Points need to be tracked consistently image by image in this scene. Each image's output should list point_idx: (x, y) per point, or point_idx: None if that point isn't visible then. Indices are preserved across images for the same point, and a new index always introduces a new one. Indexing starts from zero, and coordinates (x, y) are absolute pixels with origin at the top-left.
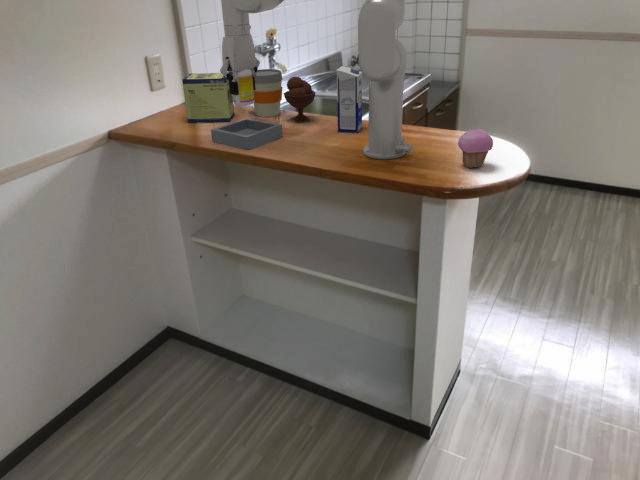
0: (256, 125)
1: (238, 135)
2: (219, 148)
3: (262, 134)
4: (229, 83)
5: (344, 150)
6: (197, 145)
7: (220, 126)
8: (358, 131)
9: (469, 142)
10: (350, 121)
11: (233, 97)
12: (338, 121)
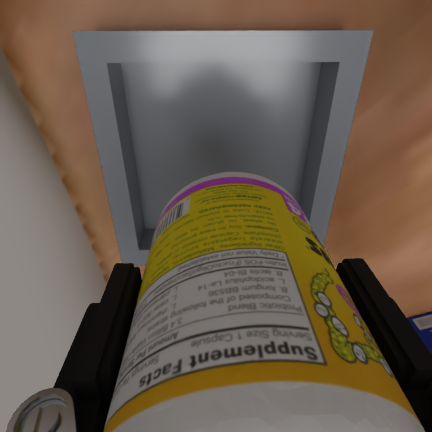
0: (317, 134)
1: (115, 227)
2: (69, 140)
3: None
4: (58, 383)
5: None
6: (7, 8)
7: (149, 35)
8: None
9: None
10: None
11: (151, 246)
12: (426, 346)
